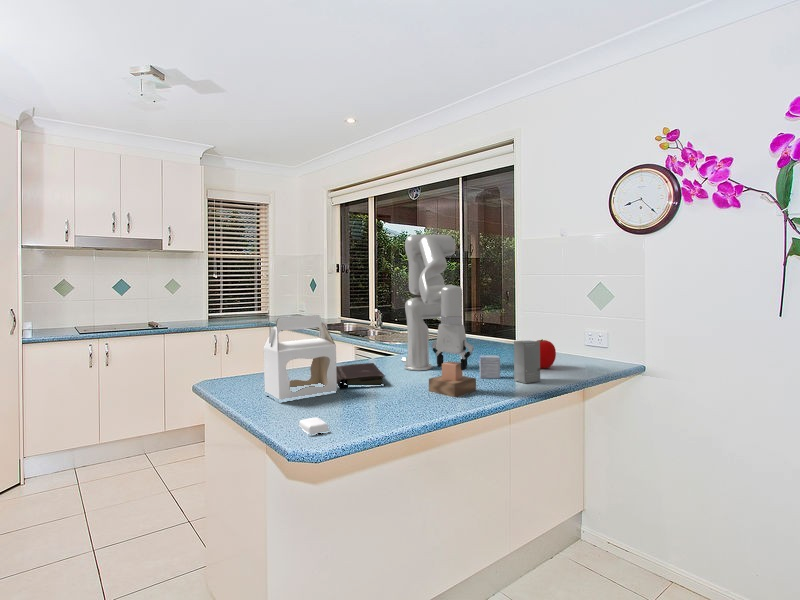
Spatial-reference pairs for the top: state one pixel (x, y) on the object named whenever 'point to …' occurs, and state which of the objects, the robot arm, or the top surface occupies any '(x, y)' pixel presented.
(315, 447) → the top surface
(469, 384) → the walnut block
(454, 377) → the terracotta cube
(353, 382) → the diary
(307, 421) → the soap
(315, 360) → the gable box
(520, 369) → the tall grey block
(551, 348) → the tomato
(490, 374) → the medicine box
